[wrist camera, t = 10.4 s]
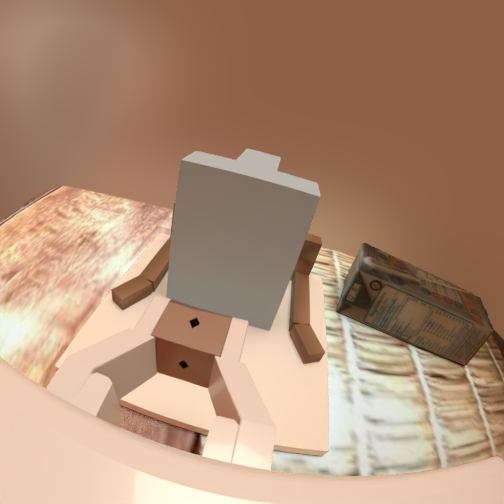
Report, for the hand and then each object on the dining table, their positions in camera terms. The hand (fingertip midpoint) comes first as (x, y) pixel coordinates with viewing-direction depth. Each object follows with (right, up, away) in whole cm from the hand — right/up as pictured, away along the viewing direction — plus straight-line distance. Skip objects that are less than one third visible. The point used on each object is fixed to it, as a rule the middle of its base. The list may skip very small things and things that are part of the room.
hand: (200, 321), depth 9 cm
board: (-1, -4, +15) cm, 16 cm away
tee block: (-1, -1, +18) cm, 18 cm away
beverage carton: (+20, -7, +21) cm, 30 cm away
